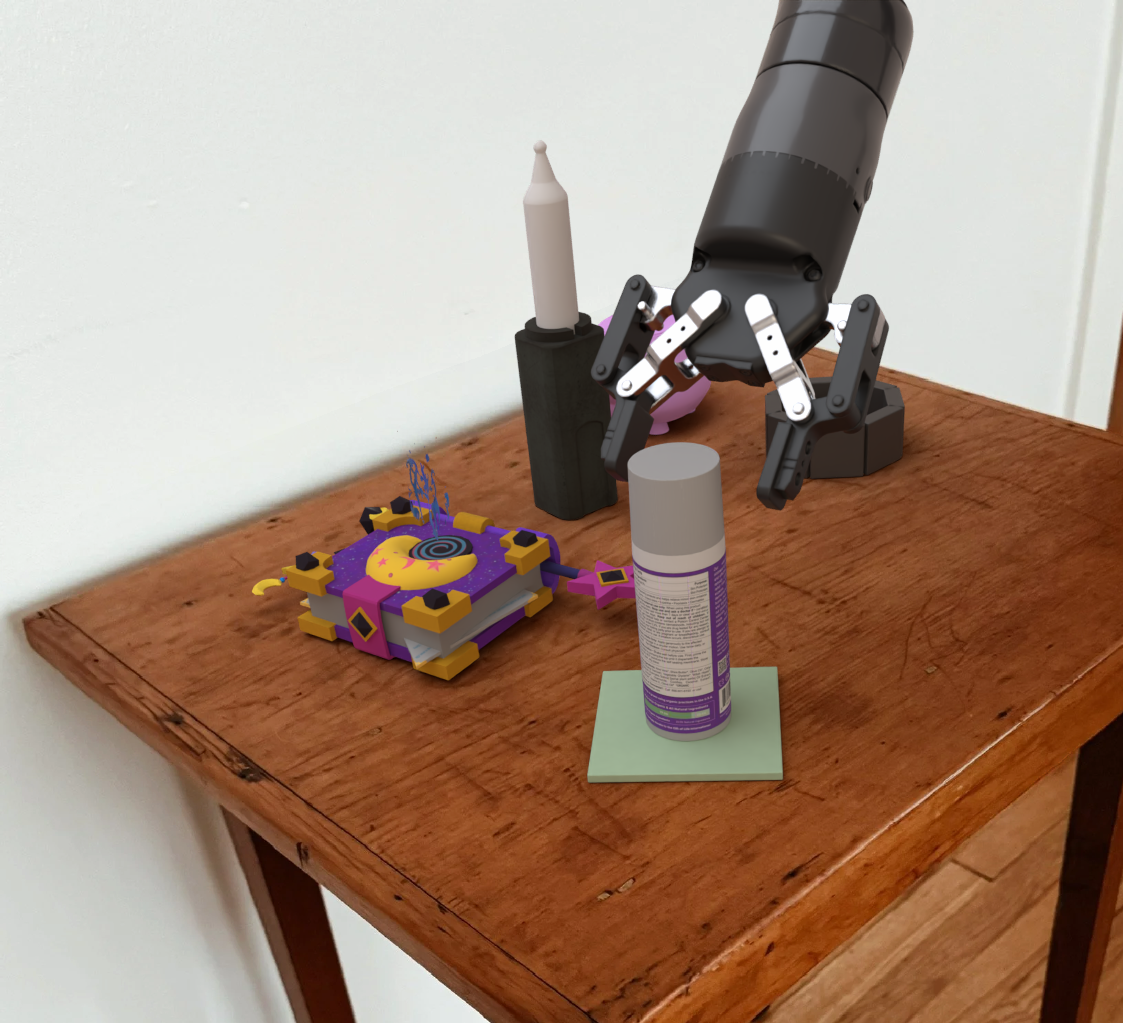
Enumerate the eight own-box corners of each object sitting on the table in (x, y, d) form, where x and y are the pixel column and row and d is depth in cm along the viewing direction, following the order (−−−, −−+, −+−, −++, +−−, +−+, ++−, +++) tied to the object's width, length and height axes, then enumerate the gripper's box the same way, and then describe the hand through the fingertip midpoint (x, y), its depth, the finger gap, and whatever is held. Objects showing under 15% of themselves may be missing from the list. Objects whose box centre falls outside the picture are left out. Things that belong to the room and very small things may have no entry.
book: (383, 532, 95) (351, 370, 88) (672, 609, 82) (661, 425, 75) (233, 623, 86) (185, 450, 79) (531, 727, 72) (504, 528, 66)
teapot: (739, 395, 110) (736, 284, 105) (651, 464, 100) (643, 345, 95) (633, 382, 115) (625, 275, 110) (540, 446, 105) (526, 332, 100)
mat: (777, 673, 74) (777, 666, 74) (782, 780, 66) (782, 772, 66) (603, 677, 76) (602, 670, 76) (587, 783, 68) (587, 775, 67)
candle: (568, 523, 93) (529, 152, 79) (528, 502, 97) (483, 144, 83) (624, 500, 95) (595, 136, 82) (583, 480, 99) (548, 128, 85)
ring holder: (893, 421, 102) (895, 372, 100) (907, 474, 94) (909, 422, 92) (764, 428, 104) (764, 379, 102) (767, 481, 96) (766, 429, 93)
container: (688, 683, 73) (674, 433, 65) (749, 714, 70) (743, 456, 62) (627, 718, 71) (604, 464, 63) (688, 752, 68) (672, 489, 60)
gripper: (639, 142, 66) (536, 440, 65) (910, 148, 58) (799, 484, 57) (695, 222, 72) (602, 495, 71) (945, 236, 65) (847, 540, 64)
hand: (690, 490), depth 64 cm, fingers open, 8 cm apart
